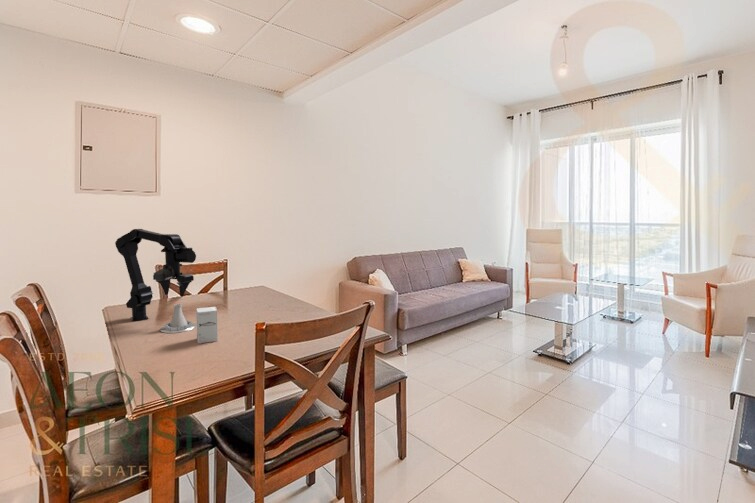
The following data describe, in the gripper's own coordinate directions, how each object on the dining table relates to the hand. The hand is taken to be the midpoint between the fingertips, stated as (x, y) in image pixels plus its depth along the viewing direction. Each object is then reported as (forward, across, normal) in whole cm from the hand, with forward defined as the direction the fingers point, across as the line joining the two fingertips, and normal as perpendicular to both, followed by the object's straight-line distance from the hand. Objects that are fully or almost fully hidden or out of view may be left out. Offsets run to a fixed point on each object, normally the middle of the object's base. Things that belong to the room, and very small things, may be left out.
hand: (174, 295), depth 172 cm
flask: (+12, +9, -6) cm, 16 cm away
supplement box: (+13, +32, -14) cm, 37 cm away
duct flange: (+12, +9, -6) cm, 17 cm away
